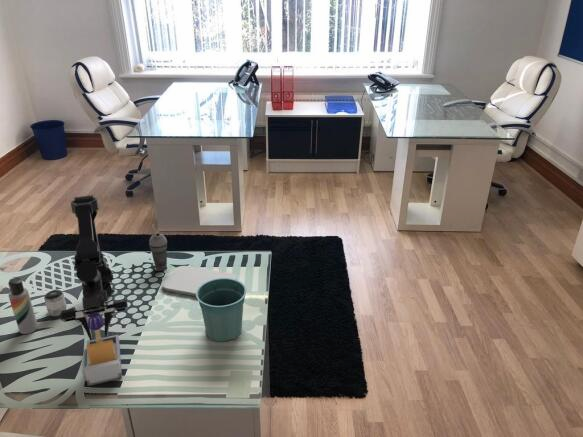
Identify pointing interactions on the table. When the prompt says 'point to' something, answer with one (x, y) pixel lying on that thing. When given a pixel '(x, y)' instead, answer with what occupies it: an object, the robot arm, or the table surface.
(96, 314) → the toy lamp
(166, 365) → the table surface
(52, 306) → the jar with dark lid
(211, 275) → the tablet
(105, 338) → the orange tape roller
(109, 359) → the block
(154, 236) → the beverage cup
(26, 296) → the lotion bottle
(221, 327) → the flower pot
